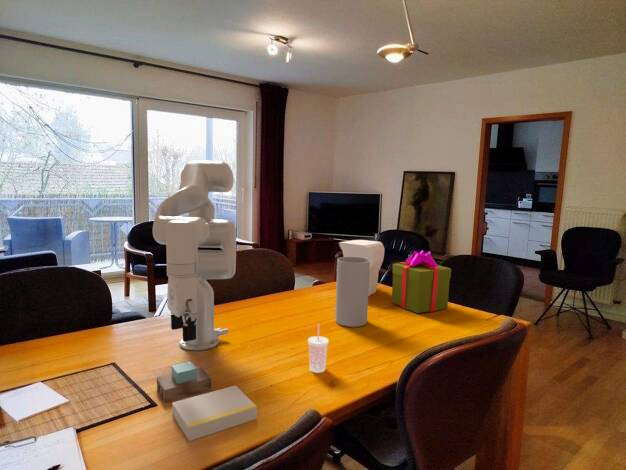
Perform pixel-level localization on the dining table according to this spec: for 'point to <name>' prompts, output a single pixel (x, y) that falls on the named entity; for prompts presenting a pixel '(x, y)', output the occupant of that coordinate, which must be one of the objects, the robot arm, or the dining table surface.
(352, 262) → the cylinder vase
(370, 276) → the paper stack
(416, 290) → the gift box
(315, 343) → the beverage cup
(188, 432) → the block
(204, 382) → the pallet
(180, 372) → the teal block
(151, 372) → the dining table surface
